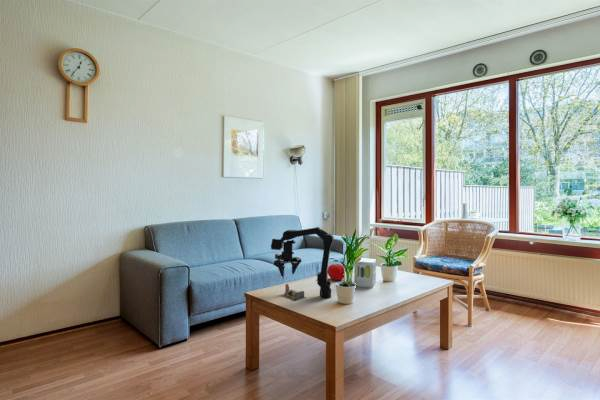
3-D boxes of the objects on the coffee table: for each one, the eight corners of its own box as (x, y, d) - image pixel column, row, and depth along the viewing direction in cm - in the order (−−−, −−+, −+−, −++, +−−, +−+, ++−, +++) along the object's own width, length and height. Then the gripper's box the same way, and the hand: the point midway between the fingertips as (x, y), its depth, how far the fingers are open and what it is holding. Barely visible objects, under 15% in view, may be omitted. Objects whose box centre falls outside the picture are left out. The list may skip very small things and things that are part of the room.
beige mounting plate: (307, 298, 221) (307, 290, 221) (295, 302, 214) (295, 294, 214) (290, 293, 232) (290, 285, 231) (279, 296, 225) (279, 288, 224)
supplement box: (353, 285, 251) (354, 260, 250) (357, 281, 263) (357, 257, 263) (372, 288, 246) (373, 262, 246) (375, 283, 259) (376, 258, 258)
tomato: (342, 282, 259) (342, 266, 258) (324, 280, 264) (324, 264, 264) (347, 278, 270) (347, 263, 269) (330, 276, 275) (330, 261, 275)
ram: (294, 294, 226) (294, 285, 225) (288, 296, 222) (288, 286, 222) (288, 292, 229) (288, 283, 229) (282, 294, 226) (282, 284, 226)
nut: (298, 297, 222) (298, 291, 222) (294, 298, 219) (294, 292, 219) (294, 295, 224) (294, 290, 224) (290, 296, 222) (290, 291, 222)
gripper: (290, 247, 238) (289, 270, 239) (268, 250, 225) (267, 275, 226) (302, 249, 230) (301, 273, 231) (279, 252, 217) (279, 278, 218)
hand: (287, 275), depth 226 cm, fingers open, 9 cm apart
